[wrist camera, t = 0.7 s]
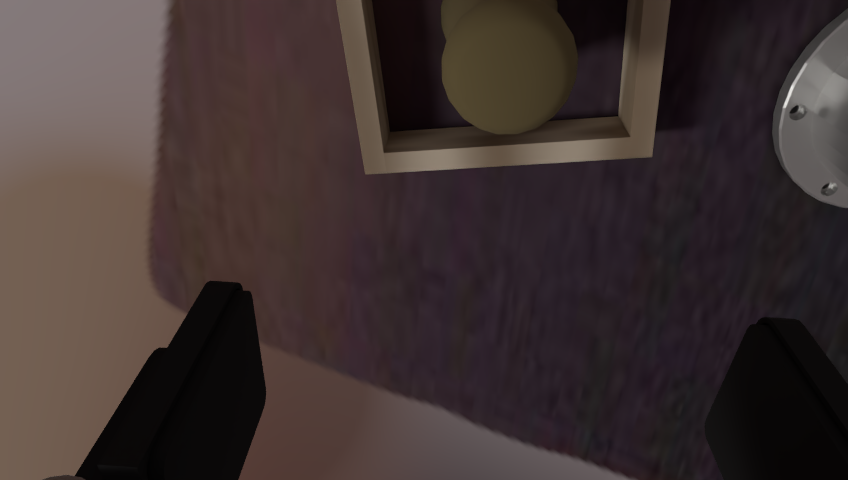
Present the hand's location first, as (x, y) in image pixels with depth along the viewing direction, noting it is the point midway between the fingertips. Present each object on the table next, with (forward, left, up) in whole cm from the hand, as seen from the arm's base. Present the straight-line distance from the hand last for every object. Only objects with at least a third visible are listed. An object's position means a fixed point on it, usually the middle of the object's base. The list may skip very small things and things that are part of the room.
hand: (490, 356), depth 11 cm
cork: (-1, -1, -24) cm, 24 cm away
